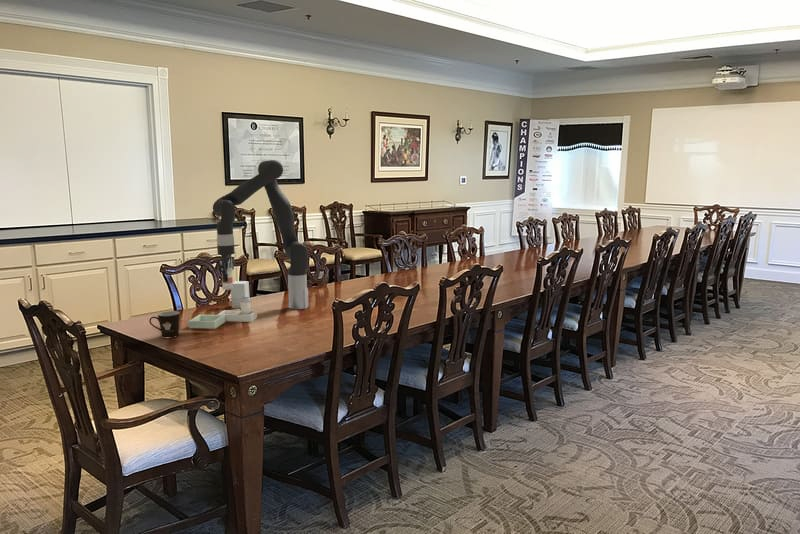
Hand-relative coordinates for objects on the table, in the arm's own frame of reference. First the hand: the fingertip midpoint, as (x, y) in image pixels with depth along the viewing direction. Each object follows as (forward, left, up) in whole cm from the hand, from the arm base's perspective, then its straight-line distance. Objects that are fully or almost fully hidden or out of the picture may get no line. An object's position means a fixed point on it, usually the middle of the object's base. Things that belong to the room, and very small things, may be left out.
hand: (227, 280), depth 284 cm
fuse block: (-4, 0, -19) cm, 20 cm away
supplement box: (+5, -29, -19) cm, 35 cm away
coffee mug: (+17, +27, -19) cm, 37 cm away
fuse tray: (+6, +11, -19) cm, 23 cm away
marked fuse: (0, 0, -4) cm, 4 cm away
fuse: (-8, 0, -18) cm, 20 cm away
